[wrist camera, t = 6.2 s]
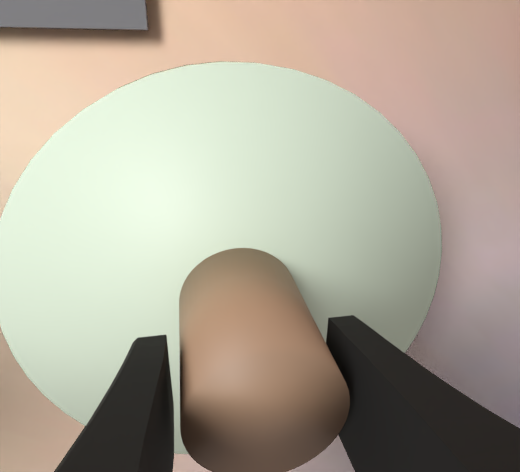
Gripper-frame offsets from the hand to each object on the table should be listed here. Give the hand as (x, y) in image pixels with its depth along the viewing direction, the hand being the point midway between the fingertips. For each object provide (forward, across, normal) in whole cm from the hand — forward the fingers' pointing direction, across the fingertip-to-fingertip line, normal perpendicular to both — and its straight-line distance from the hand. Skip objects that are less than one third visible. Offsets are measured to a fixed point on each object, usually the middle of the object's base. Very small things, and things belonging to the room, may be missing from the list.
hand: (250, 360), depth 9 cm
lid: (+3, 0, 0) cm, 3 cm away
